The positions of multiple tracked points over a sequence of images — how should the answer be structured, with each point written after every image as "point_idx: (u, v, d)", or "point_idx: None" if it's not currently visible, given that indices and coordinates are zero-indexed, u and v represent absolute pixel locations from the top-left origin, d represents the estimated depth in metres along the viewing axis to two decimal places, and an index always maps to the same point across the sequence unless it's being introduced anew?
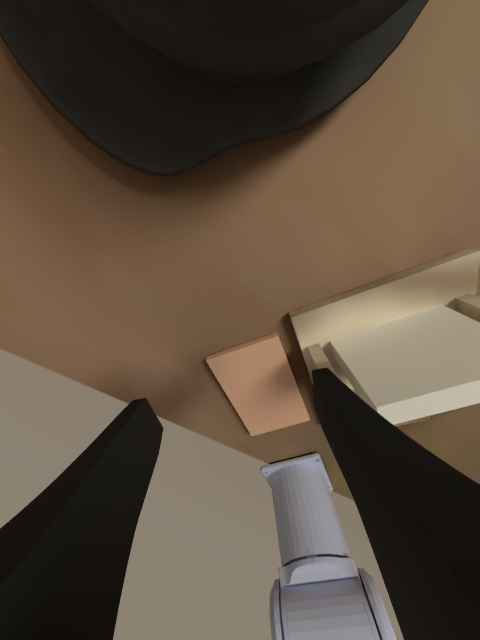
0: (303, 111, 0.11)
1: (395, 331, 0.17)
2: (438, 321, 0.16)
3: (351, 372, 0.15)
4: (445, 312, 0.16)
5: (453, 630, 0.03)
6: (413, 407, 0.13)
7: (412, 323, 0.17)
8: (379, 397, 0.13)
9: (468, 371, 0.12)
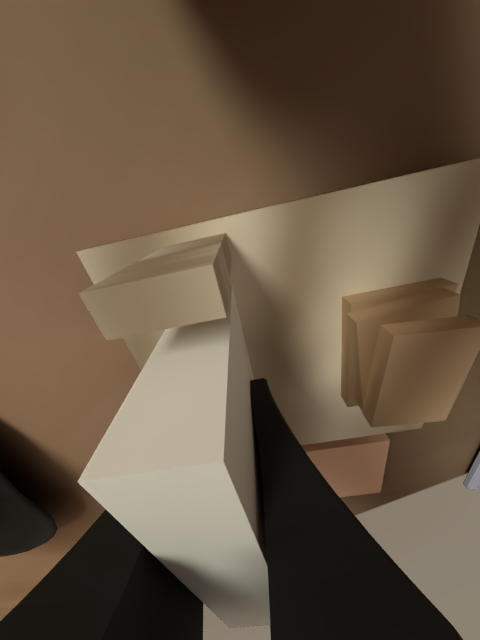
0: None
1: None
2: None
3: None
4: None
5: None
6: (242, 610, 0.06)
7: None
8: None
9: None
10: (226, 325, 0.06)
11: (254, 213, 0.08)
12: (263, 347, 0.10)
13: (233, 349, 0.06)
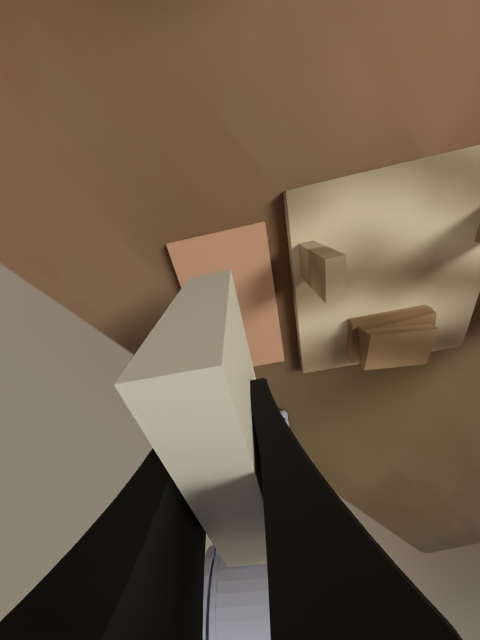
0: None
1: None
2: None
3: None
4: None
5: None
6: (238, 541, 0.07)
7: None
8: None
9: None
10: (225, 294, 0.07)
11: None
12: (407, 263, 0.16)
13: (231, 313, 0.07)
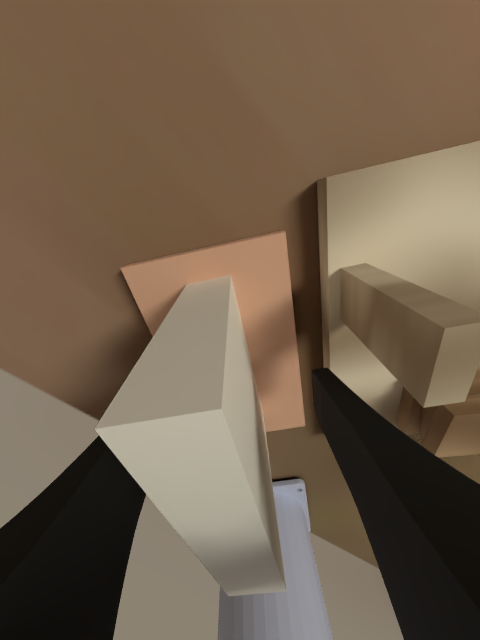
0: None
1: None
2: None
3: None
4: None
5: (453, 630, 0.03)
6: (240, 574, 0.06)
7: None
8: None
9: None
10: (226, 308, 0.06)
11: None
12: None
13: (231, 329, 0.06)
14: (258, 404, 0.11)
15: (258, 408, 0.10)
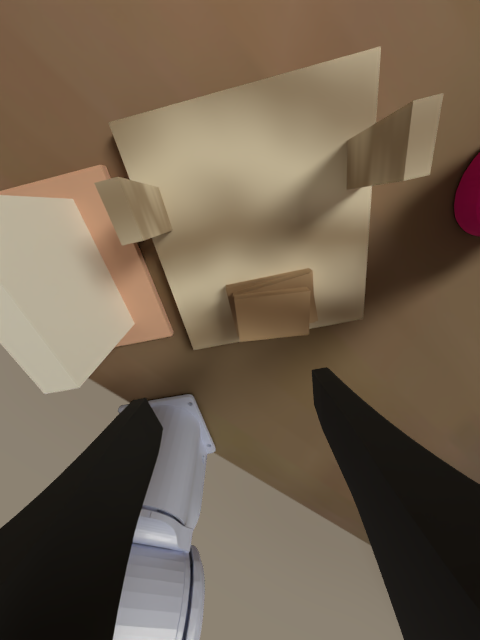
0: None
1: None
2: None
3: None
4: None
5: (453, 630, 0.03)
6: (34, 362, 0.10)
7: None
8: None
9: None
10: (23, 196, 0.10)
11: (369, 205, 0.13)
12: (275, 216, 0.14)
13: (21, 206, 0.10)
14: (110, 302, 0.15)
15: (104, 300, 0.14)
